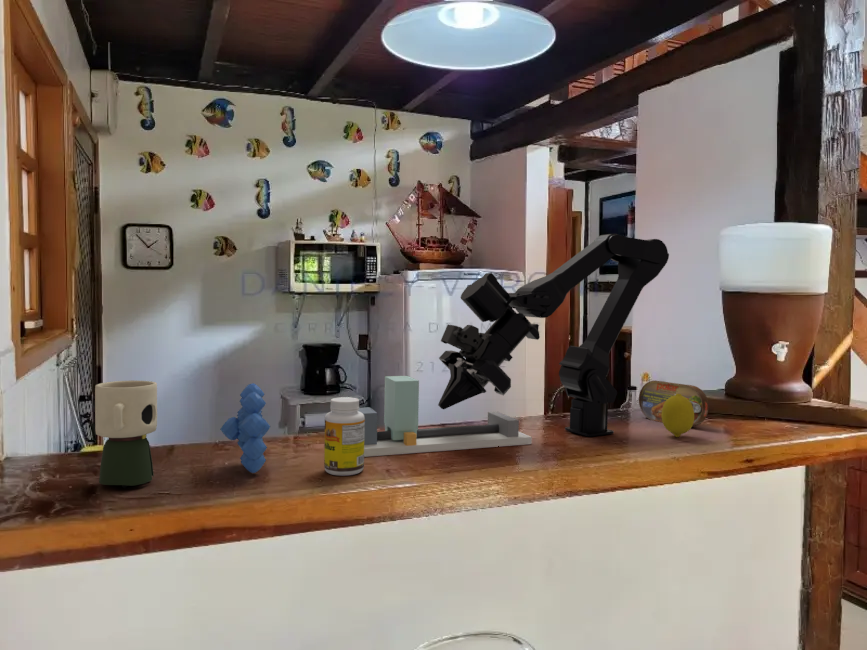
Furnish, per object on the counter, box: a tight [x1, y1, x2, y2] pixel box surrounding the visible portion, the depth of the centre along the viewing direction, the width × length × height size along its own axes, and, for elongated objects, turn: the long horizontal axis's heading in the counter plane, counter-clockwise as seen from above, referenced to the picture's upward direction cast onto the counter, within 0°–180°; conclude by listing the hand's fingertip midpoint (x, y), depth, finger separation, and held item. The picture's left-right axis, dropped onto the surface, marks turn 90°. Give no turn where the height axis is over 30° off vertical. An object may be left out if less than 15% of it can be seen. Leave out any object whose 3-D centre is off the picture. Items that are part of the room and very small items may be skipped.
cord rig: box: [359, 406, 533, 458], centre depth 104 cm, size 30×10×6 cm, turn 110°
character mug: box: [94, 380, 158, 489], centre depth 79 cm, size 11×7×13 cm, turn 15°
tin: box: [638, 380, 710, 427], centre depth 125 cm, size 15×3×8 cm, turn 32°
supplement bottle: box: [323, 396, 365, 477], centre depth 87 cm, size 6×6×10 cm
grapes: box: [220, 382, 271, 474], centre depth 86 cm, size 12×7×12 cm, turn 19°
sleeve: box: [383, 375, 420, 440], centre depth 102 cm, size 4×6×10 cm, turn 20°
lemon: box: [661, 394, 694, 438], centre depth 112 cm, size 6×6×8 cm
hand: (440, 407), depth 104 cm, fingers closed
